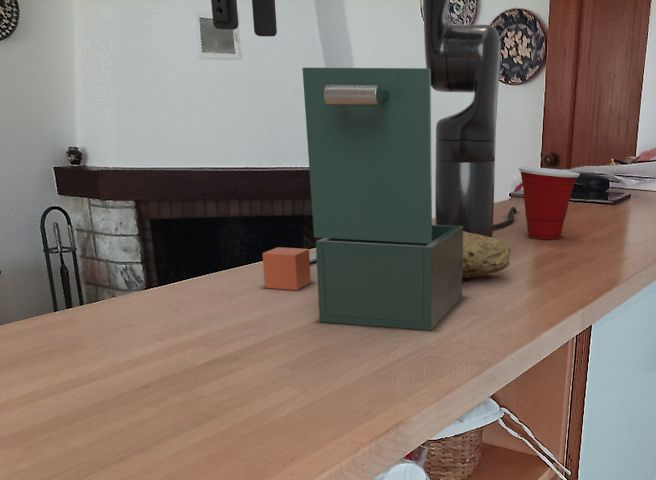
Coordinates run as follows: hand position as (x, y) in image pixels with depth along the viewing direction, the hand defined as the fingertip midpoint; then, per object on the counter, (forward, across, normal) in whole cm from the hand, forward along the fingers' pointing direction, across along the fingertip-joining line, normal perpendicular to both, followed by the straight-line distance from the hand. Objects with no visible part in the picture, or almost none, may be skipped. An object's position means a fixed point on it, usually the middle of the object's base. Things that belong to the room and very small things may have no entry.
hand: (247, 32), depth 77 cm
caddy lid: (+11, -1, -13) cm, 17 cm away
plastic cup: (+30, +65, -24) cm, 75 cm away
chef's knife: (+29, +31, +8) cm, 44 cm away
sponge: (+29, +26, -13) cm, 41 cm away
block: (+29, +15, +4) cm, 33 cm away
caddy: (+29, +7, -13) cm, 32 cm away
